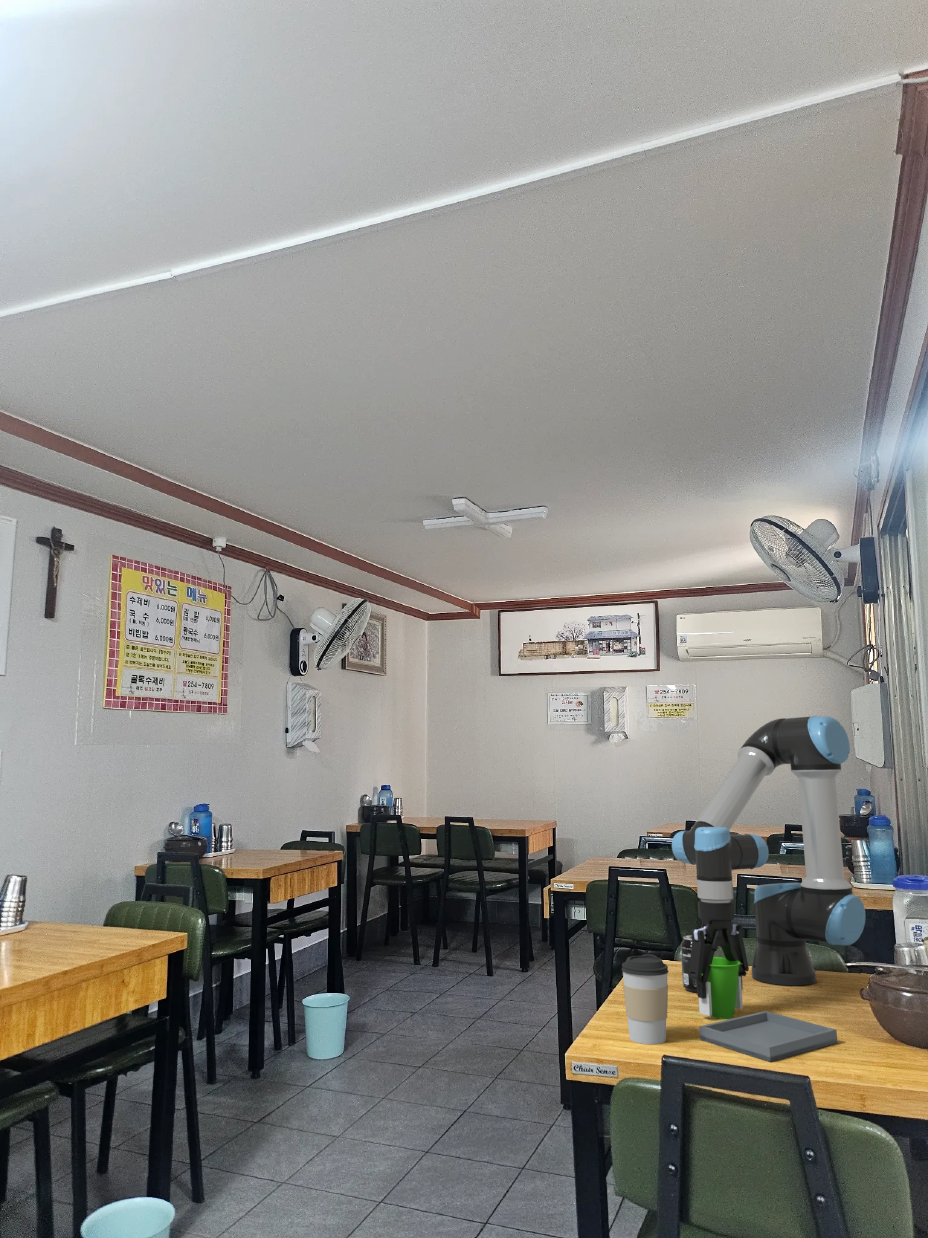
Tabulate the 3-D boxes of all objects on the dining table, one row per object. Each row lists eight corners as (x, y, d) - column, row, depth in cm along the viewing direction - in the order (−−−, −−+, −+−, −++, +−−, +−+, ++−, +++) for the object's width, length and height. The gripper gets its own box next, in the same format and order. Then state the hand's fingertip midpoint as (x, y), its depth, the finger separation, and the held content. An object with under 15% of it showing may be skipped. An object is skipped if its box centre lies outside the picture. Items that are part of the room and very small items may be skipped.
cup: (746, 1023, 176) (743, 966, 178) (700, 1020, 178) (698, 964, 180) (741, 1011, 185) (738, 957, 187) (698, 1009, 186) (695, 956, 188)
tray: (766, 1023, 175) (765, 1011, 176) (837, 1043, 162) (836, 1029, 163) (699, 1039, 164) (699, 1026, 165) (770, 1062, 151) (769, 1047, 152)
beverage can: (701, 986, 207) (699, 934, 209) (718, 993, 201) (715, 939, 203) (677, 988, 205) (674, 936, 207) (693, 995, 199) (690, 940, 201)
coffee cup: (662, 1049, 159) (658, 963, 162) (616, 1041, 164) (613, 958, 166) (677, 1037, 166) (674, 955, 169) (633, 1030, 171) (630, 950, 174)
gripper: (734, 894, 194) (740, 1000, 190) (667, 902, 183) (672, 1014, 178) (762, 898, 188) (769, 1007, 184) (694, 906, 176) (700, 1023, 172)
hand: (721, 1011), depth 181 cm, fingers closed on cup, 9 cm apart
